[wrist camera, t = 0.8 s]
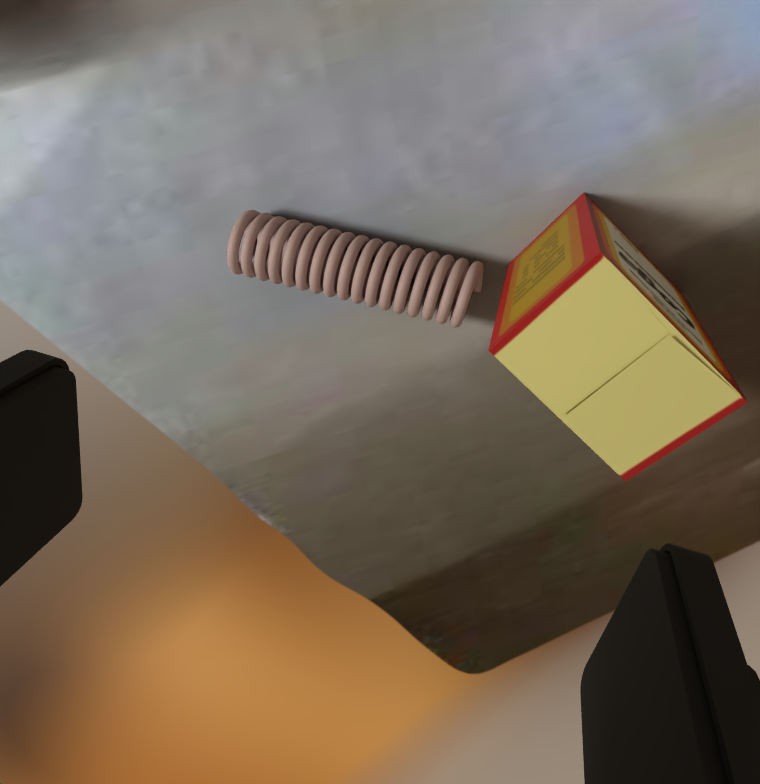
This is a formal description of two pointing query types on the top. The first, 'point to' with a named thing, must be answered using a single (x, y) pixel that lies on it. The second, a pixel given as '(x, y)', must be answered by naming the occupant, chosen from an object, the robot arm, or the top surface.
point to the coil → (352, 266)
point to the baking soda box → (609, 342)
